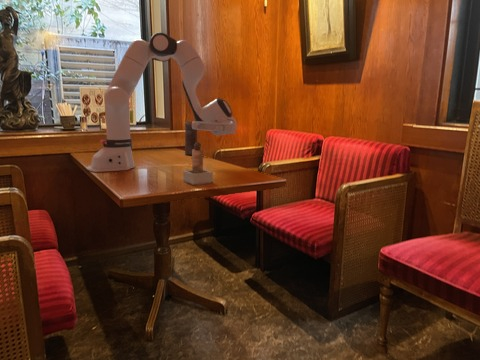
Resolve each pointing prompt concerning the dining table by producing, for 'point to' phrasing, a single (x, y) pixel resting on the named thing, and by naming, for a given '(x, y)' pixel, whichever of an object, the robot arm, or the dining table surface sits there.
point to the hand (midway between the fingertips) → (206, 127)
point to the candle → (190, 138)
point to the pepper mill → (197, 159)
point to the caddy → (197, 177)
